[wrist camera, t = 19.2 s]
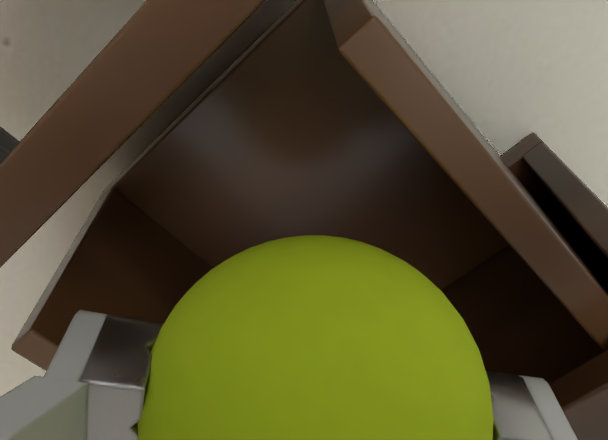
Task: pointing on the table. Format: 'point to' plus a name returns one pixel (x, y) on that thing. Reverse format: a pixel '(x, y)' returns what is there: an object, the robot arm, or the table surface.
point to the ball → (315, 352)
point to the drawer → (290, 180)
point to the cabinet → (594, 252)
